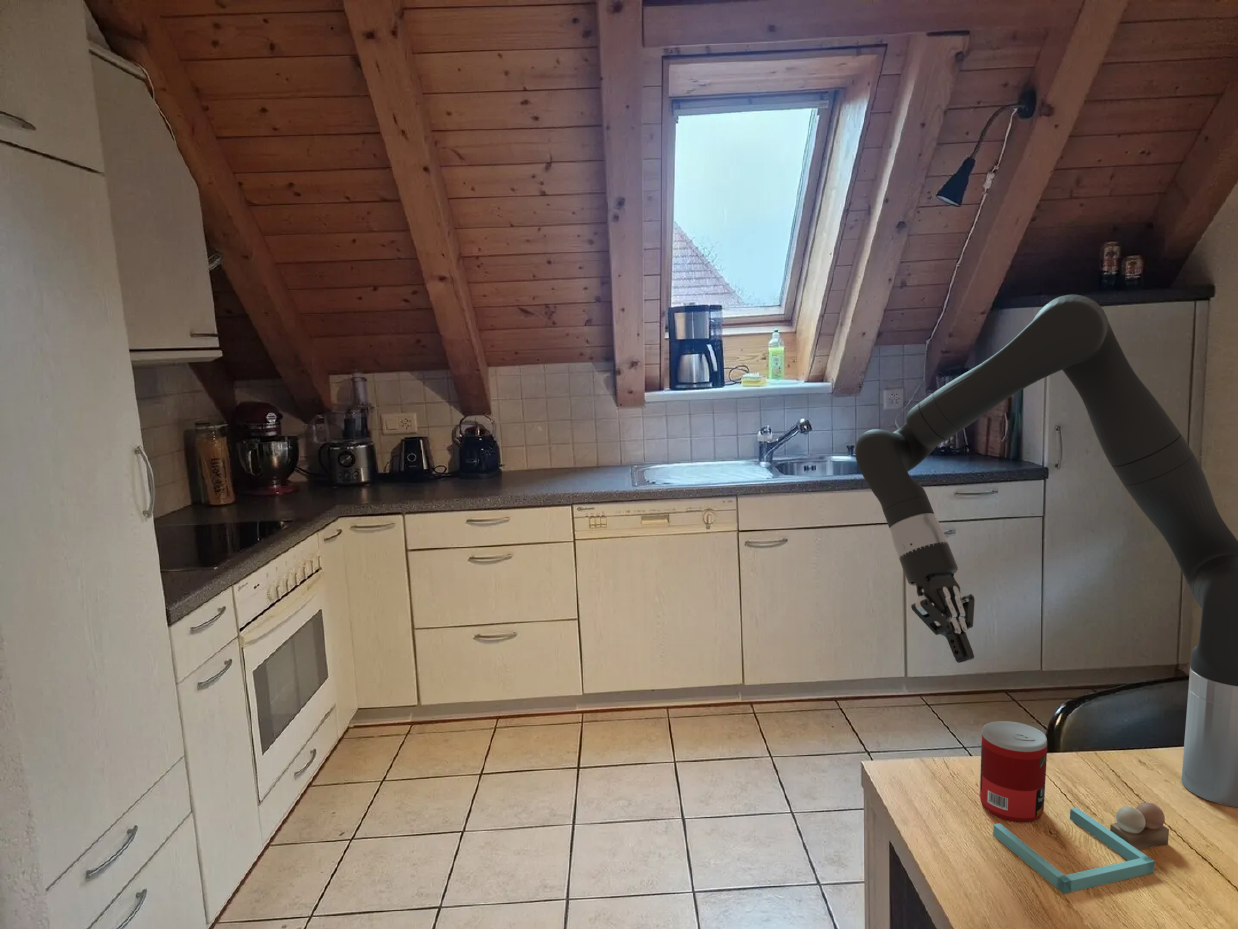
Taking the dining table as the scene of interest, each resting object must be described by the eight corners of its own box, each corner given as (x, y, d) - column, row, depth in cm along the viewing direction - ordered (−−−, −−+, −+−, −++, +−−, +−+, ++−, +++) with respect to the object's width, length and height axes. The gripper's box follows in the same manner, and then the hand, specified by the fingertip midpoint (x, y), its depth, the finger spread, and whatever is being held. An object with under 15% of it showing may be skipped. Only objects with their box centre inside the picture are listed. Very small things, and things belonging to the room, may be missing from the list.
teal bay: (1076, 817, 111) (1076, 807, 110) (1154, 872, 99) (1154, 861, 99) (993, 835, 107) (993, 824, 107) (1063, 894, 96) (1064, 882, 96)
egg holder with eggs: (1147, 829, 107) (1149, 795, 107) (1169, 844, 104) (1171, 809, 104) (1108, 838, 106) (1110, 803, 105) (1129, 853, 103) (1131, 817, 102)
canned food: (1051, 827, 109) (1055, 749, 107) (986, 822, 110) (989, 745, 109) (1034, 795, 116) (1037, 722, 115) (973, 791, 118) (976, 718, 116)
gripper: (915, 541, 120) (960, 659, 113) (968, 539, 127) (1013, 649, 121) (876, 559, 125) (917, 673, 119) (929, 556, 133) (971, 662, 126)
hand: (966, 660), depth 120 cm, fingers closed
